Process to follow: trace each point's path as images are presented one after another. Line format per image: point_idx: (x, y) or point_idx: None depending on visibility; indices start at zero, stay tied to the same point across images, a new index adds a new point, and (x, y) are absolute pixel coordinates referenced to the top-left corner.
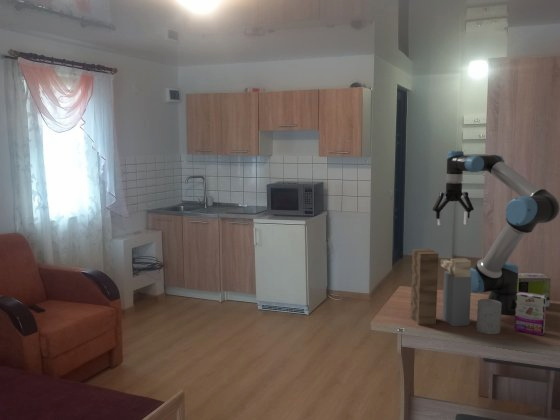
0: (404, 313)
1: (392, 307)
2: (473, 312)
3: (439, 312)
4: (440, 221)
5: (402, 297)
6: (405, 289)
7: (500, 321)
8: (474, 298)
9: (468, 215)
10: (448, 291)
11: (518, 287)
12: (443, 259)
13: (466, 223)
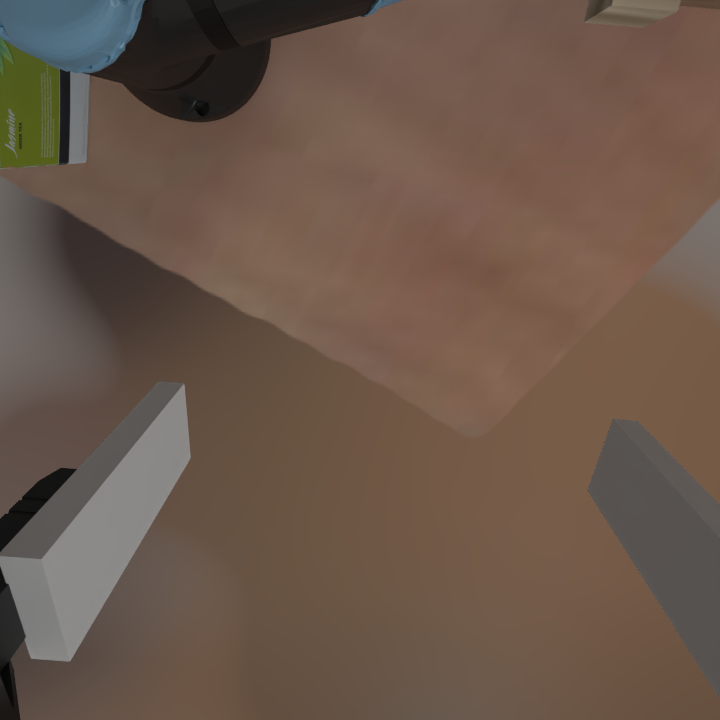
0: (710, 77)
1: (703, 182)
2: None
3: (531, 53)
4: (666, 462)
5: (567, 311)
6: (489, 408)
7: None
8: (250, 231)
9: (39, 507)
10: None
11: None
12: (649, 7)
13: (167, 395)
